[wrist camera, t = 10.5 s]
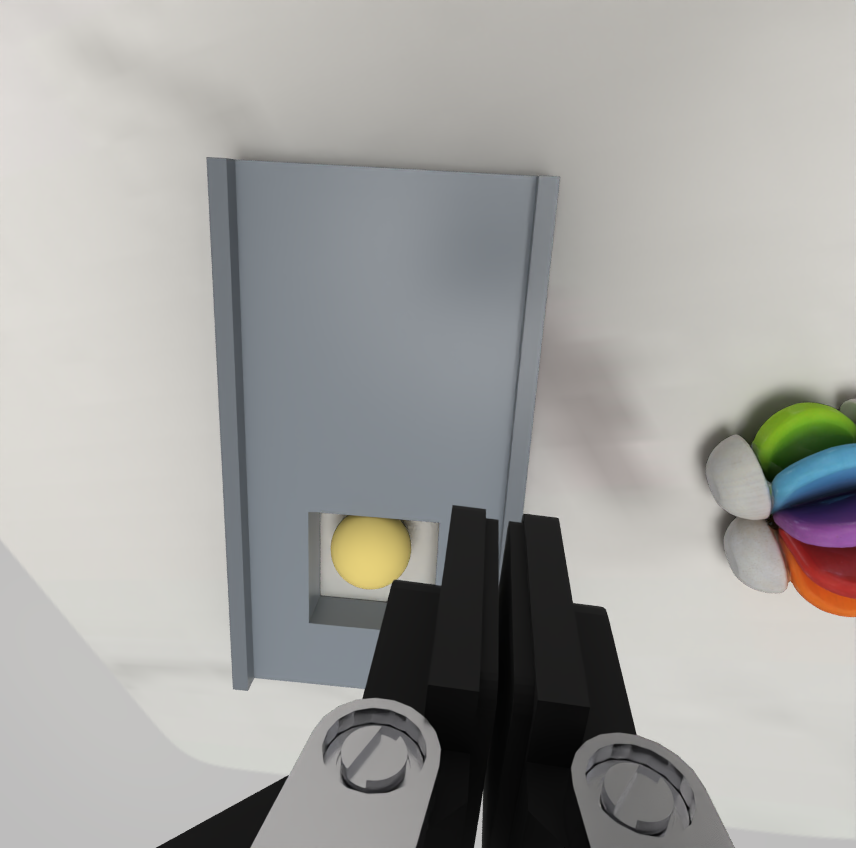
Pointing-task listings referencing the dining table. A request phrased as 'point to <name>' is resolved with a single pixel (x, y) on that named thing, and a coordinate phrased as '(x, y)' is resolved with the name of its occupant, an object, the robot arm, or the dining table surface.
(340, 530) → the ball
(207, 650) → the dining table surface
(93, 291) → the dining table surface
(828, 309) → the dining table surface
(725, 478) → the rainbow white-lobed toy
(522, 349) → the tray
